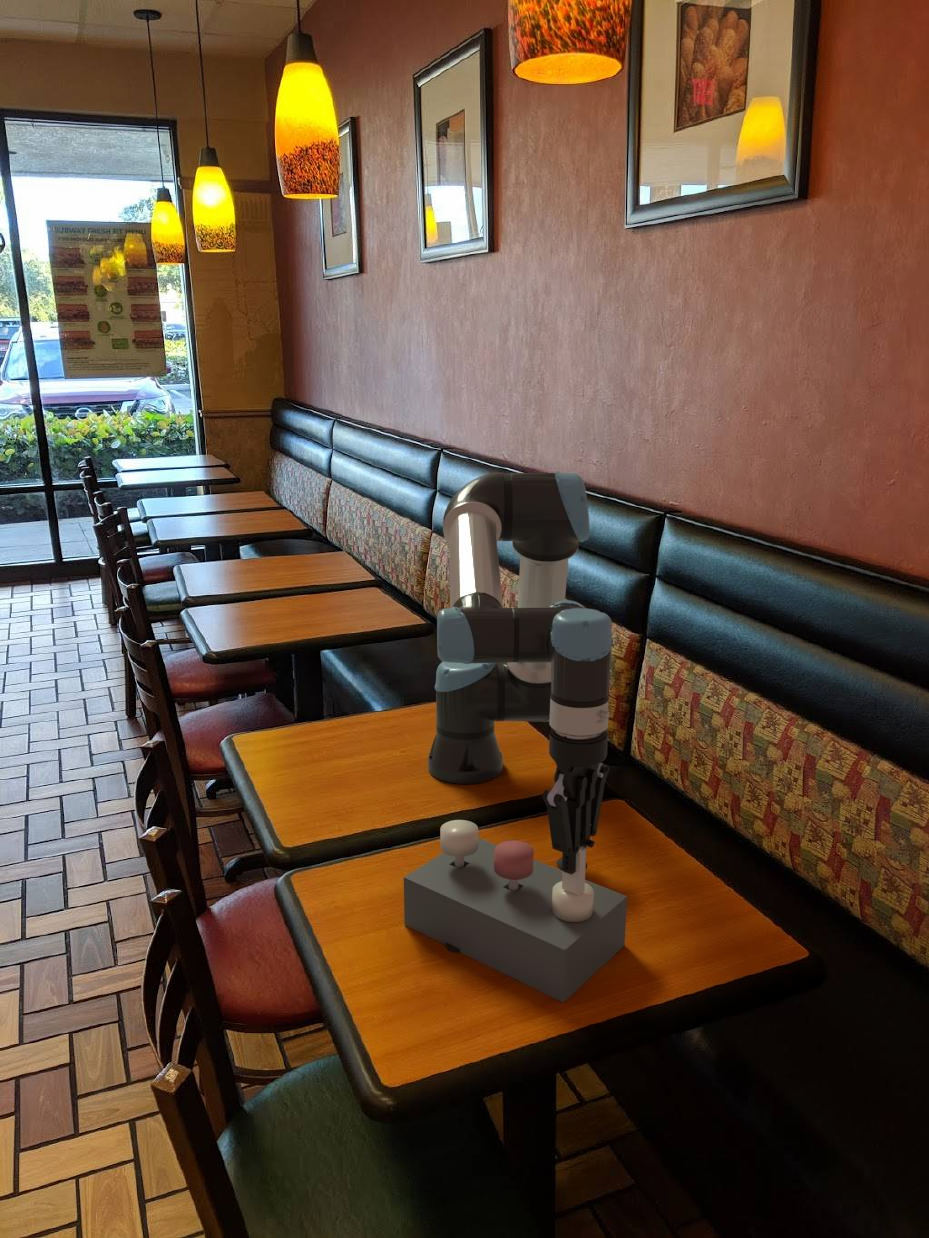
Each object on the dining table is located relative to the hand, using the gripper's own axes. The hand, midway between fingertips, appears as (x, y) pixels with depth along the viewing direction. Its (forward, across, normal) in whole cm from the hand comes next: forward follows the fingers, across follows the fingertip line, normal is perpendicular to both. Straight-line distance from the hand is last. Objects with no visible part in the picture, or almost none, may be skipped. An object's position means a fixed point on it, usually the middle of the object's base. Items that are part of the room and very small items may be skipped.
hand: (573, 889), depth 132 cm
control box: (+11, 0, +10) cm, 15 cm away
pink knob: (+5, 0, +10) cm, 11 cm away
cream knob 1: (+5, 0, +20) cm, 21 cm away
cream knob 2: (+8, 0, 0) cm, 8 cm away
